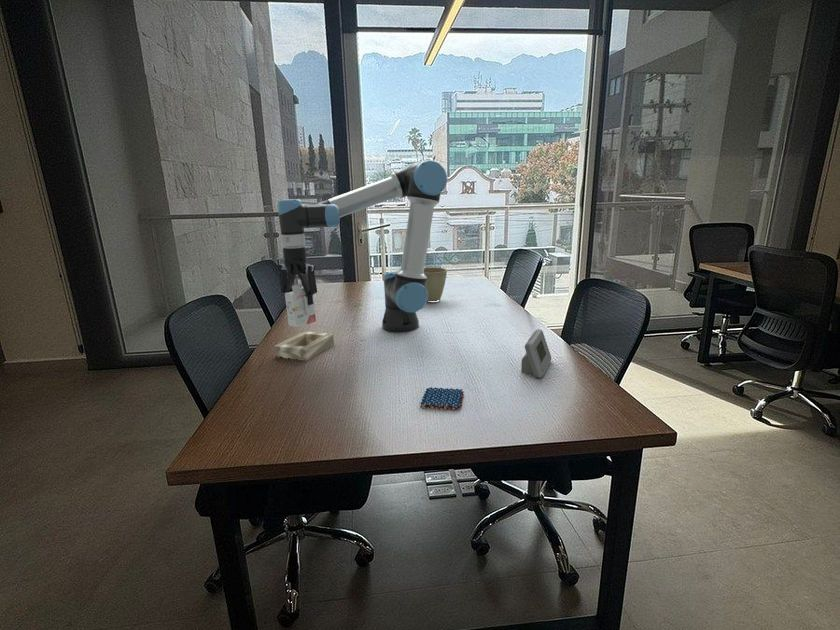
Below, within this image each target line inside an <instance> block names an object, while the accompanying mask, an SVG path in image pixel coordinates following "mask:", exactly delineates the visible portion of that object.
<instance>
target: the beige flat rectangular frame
mask: <svg viewBox="0 0 840 630" xmlns="http://www.w3.org/2000/svg"><path fill="white" fill-rule="evenodd" d="M334 338H335V337H334V333H327V332H325V333H324V332H316V331H309V330H308V331H306V330H304V331H302V332H299V333H297V334H295V335H294V336H292V337H290V338H288V339H285V340H283V341H282V342H280V343H278V344H275V345H274V354H275V357H276V356H277V357H276V358H280V357H283V358H282V359H288V358H290V360H296V359H297V360H298V361H304V362H307V361H309V360H311V359H313V358H314V357H316V356H318V355H319V354H321V353H323V352H324V351H326V350H327V349H329V348H330V347H332V346H334V345H335V339H334Z"/></svg>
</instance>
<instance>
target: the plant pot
mask: <svg viewBox="0 0 840 630" xmlns="http://www.w3.org/2000/svg"><path fill="white" fill-rule="evenodd" d="M447 271H448V270H447V268H443V267H424V274H425V275H426V277H427V280H426V287H425V288H426V290H427V293H428V300H427V301H437V300H440V301H441V298H442V296H443V292H444V288H445V284H446V280H447V273H448V272H447Z"/></svg>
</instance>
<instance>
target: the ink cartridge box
mask: <svg viewBox="0 0 840 630" xmlns="http://www.w3.org/2000/svg"><path fill="white" fill-rule="evenodd" d="M301 287H303V285H302V283H298V284H294V285H293V286H292V290H293V291H292V292H288V293H284V298H285V299H284V300H285V306H286V307H285V308H286V314H287V322H288V326H290V327H294V328H300V327H303V326H307V325H310V324H312V323H315V322H316V321H317V319H316V311H315V301H314V298H315V297H313V304H312V313H311V314H309V315H306V309H305V300H304V296H305V295H306V293H305V291H304V288H301Z"/></svg>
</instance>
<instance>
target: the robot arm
mask: <svg viewBox="0 0 840 630" xmlns="http://www.w3.org/2000/svg"><path fill="white" fill-rule="evenodd" d="M447 181H448V175H447V171H446V169H445V168H444V167H443V165H442V164H441V162H438V161H436V160H433V159H432V160H431V159H423V160H421V161H417V162H413V163H411V164H409V165H407V166H405V167H404V168H402V169H400V170H398V171H395V172H392V173H391V174H390V176H389V177H386V178H383V179H381V180H379V181H375V182H373V183H370V184H367V185H365V186H364V185H363V186H361V187H359V188H357V189H353V190H350V191H348V192H345V193H342V194H339V195H336V196H334V197H331V198H328V199H325V200H322V201H319V202H315V203H313V204H303V203H302V200H301V199H300V198H299V199H297V198H295V199H281V200H279V201H278V202H277V210H278V212H277V213H278V220H279V228H280V229H279V230H280V236H281V244H282V245H281V246H282V247H283V249H282V255H283V259H284V263H281V264H278V265H277V268H278V271H279V283H280V292H281V293H283V294H285V293H288V292H292V291H293V290H292V286H293V285H295V279H296V275H297V276H298V278H300V282H301V283H300V284H302V285H303V286H302V287H303V288H304V291H305V293H306V295H305V296H304V300H305V309H306V315H309V314H311V313H312V304H313V298H314V295H315V294H317V293H318V288H317V282H316V273H315V270H316V266H315V264H310V263H308V261H307V256H308V255H307V247H306V239H305V238H306V237H305V235H306V234H305V229H312V228H313V229H314V228H332V227H333V228H334V227H338V226H339V225H340V218H342V217H345V216H348V215H351V214H354V213H357V212H360V211H362V210H364V209H367V208H371V207H374V206H376V205H378V204H381V203H384V202H386V201H389V200H392V199H394V198H399V199H403V198H405V197H407V198H406V199H408V201H409V203H410V205H409V211H408V216H407V217H408V219H407V224H406V230H405V231H406V232H405V238H404V243H403V244H404V245H403V251H402V259H401V265H400V269H398V270H397V271H390V272H385V273H384V275H383V281H382V282H383V289H384V304H385V306H384V307H385V310H384V312H383V313H384V314H383V317H382V321H381V325H382V326H381V327H382V329H383V330H385V331H387V332H394V333H395V332H396V333H397V332H399V333H400V332H401V333H404V332H410V331H413V330H416V329H418V327H419V325H420V323H419V322H420V321H419V318H418V315H417V312H418V311H421V310H423V308H424V307H425V306H426V304H427V303H428V302H427V300H428V293H427V290H426V288H425V287H426V280H427V277H426V275H425V274H424V268H426V261H427V260H426V259H427V254H428V247H429V242H430V241H429V240H430V234H431V229H432V222H433V216H434V210H435V207H436V206H437V205H438V204H439V203H440V199H441V193H442V192H443V191H444V190H445V189H446V186H447V183H448V182H447ZM303 288H302V289H303Z"/></svg>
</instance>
